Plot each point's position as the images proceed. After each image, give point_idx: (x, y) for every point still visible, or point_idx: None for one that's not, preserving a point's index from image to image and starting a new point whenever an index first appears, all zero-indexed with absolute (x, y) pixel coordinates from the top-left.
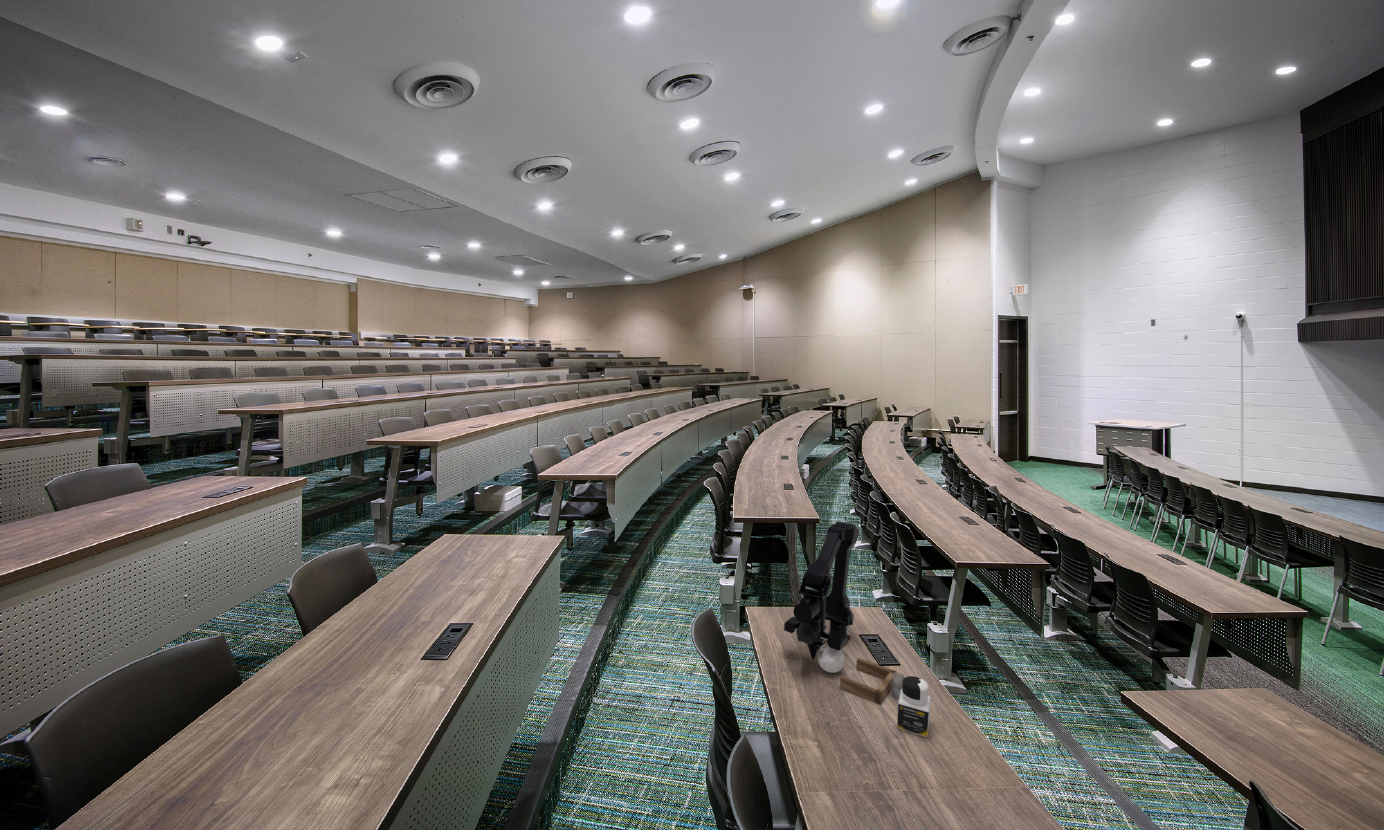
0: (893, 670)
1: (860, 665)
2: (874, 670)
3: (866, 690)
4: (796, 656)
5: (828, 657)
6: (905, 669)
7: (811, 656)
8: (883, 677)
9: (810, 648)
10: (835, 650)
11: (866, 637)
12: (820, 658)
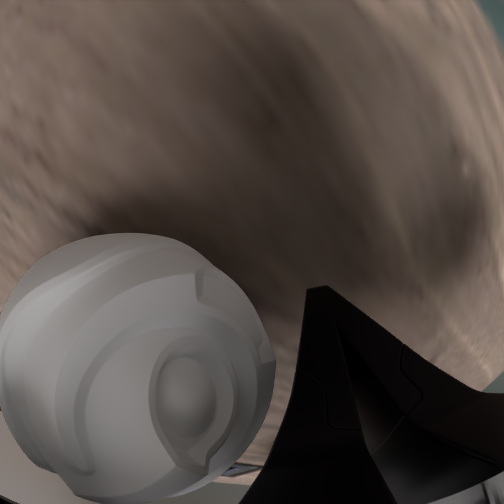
0: (1, 410)
1: None
2: None
3: None
4: (434, 252)
5: (32, 358)
6: None
7: (339, 297)
8: None
9: (387, 361)
10: (53, 465)
11: (242, 468)
12: (161, 306)
